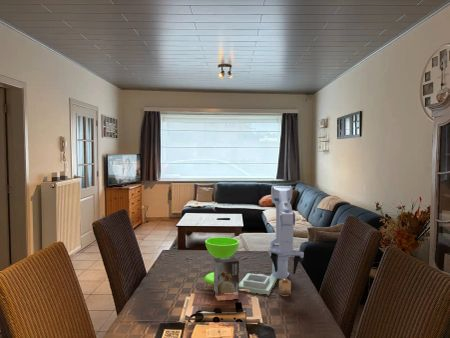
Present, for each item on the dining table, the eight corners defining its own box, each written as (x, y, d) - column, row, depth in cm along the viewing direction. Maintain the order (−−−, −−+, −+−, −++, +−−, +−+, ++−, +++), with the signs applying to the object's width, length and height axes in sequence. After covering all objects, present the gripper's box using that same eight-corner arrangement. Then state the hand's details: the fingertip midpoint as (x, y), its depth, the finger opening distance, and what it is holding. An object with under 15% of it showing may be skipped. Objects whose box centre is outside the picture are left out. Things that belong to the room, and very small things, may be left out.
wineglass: (235, 286, 160) (236, 246, 160) (200, 283, 164) (201, 244, 163) (240, 274, 176) (241, 238, 175) (209, 272, 179) (209, 236, 178)
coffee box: (234, 293, 152) (235, 256, 152) (238, 299, 146) (239, 260, 145) (213, 295, 150) (214, 257, 149) (216, 302, 144) (217, 262, 143)
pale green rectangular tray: (247, 277, 173) (248, 269, 173) (276, 281, 168) (277, 272, 168) (236, 290, 156) (237, 281, 156) (268, 295, 151) (269, 286, 151)
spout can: (279, 291, 156) (280, 276, 156) (291, 292, 155) (291, 278, 154) (277, 295, 152) (278, 280, 151) (289, 297, 150) (290, 281, 150)
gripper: (267, 241, 151) (266, 272, 151) (302, 244, 146) (301, 277, 147) (270, 237, 157) (269, 267, 158) (304, 240, 153) (303, 272, 153)
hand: (285, 272), depth 153 cm, fingers open, 7 cm apart
